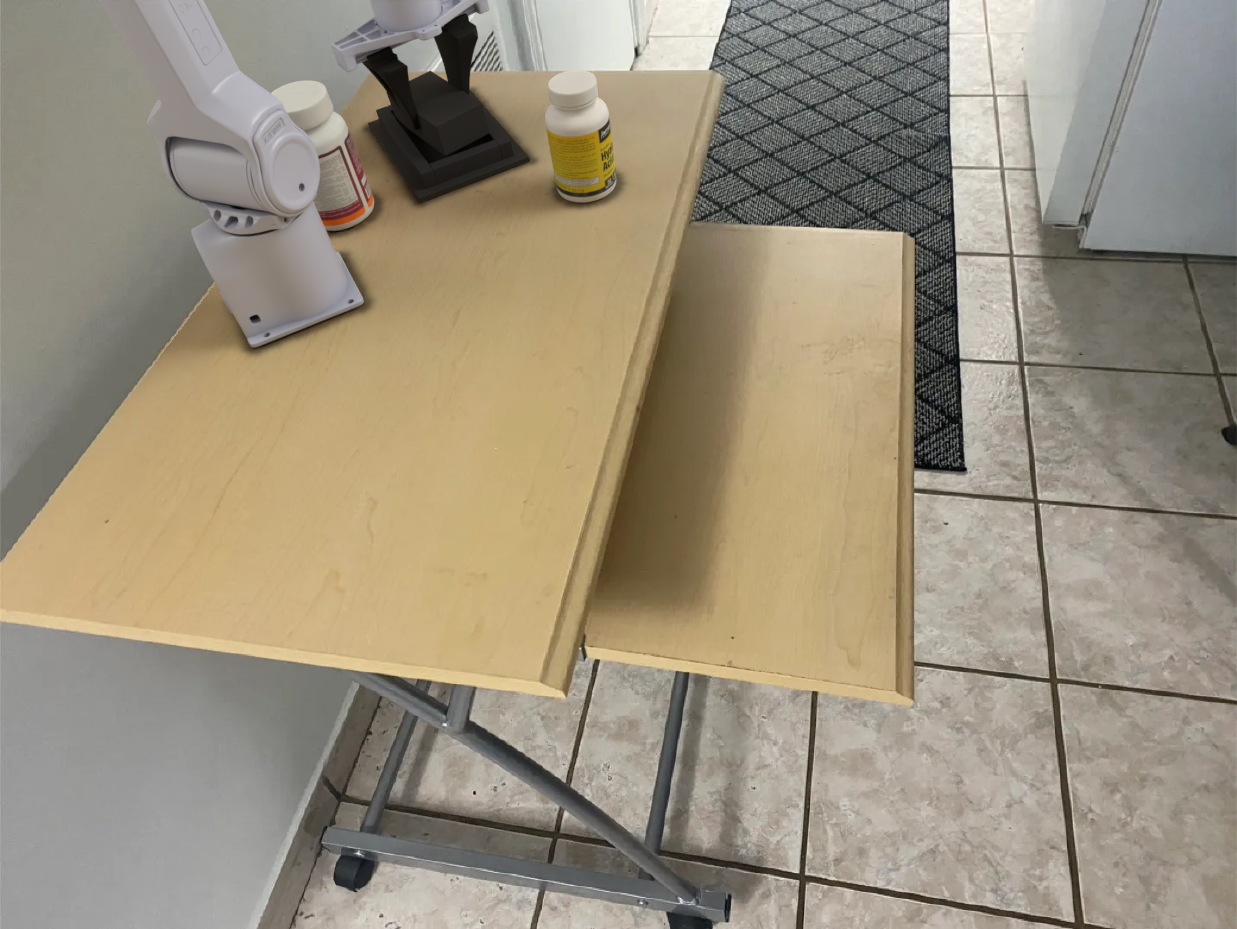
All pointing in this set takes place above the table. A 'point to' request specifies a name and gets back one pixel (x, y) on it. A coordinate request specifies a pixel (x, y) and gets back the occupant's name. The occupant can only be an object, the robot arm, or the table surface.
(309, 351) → the table surface
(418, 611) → the table surface
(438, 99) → the charcoal block
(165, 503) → the table surface
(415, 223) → the table surface
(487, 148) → the base pad
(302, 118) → the pill bottle
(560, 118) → the supplement bottle
